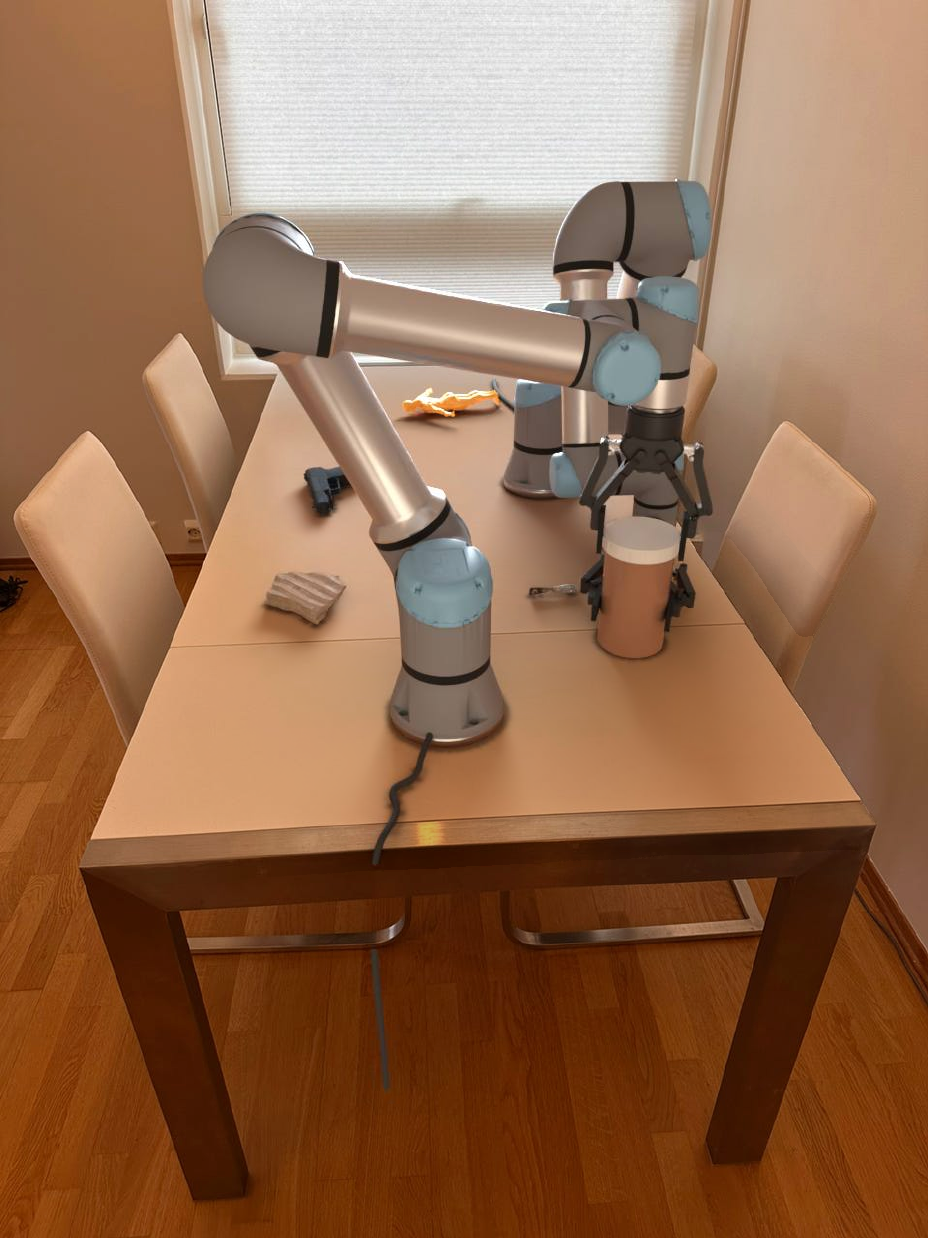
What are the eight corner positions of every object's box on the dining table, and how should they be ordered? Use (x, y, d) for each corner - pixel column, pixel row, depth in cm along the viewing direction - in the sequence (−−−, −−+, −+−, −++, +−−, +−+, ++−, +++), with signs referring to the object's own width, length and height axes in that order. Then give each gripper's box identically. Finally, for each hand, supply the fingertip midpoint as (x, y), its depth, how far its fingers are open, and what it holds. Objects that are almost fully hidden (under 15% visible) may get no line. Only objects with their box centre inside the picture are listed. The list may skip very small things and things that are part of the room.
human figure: (395, 413, 223) (394, 398, 221) (438, 390, 237) (438, 375, 235) (462, 429, 215) (462, 413, 213) (502, 404, 229) (503, 388, 227)
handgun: (374, 509, 176) (313, 517, 173) (359, 474, 190) (302, 481, 188) (373, 494, 174) (311, 502, 172) (358, 460, 188) (301, 466, 186)
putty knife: (576, 592, 148) (577, 584, 147) (529, 598, 146) (530, 589, 145) (574, 589, 149) (575, 581, 148) (528, 595, 147) (528, 586, 146)
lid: (586, 548, 127) (587, 535, 126) (627, 522, 134) (628, 509, 133) (654, 572, 121) (655, 558, 120) (693, 543, 128) (695, 530, 127)
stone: (356, 590, 149) (354, 577, 147) (319, 626, 139) (317, 612, 138) (289, 576, 153) (287, 563, 152) (249, 610, 144) (247, 596, 142)
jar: (584, 642, 136) (593, 537, 126) (619, 615, 142) (629, 514, 132) (641, 666, 130) (654, 558, 121) (674, 637, 136) (689, 533, 127)
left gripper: (746, 400, 117) (722, 548, 129) (570, 389, 122) (561, 534, 133) (750, 419, 111) (724, 573, 123) (564, 407, 115) (555, 558, 127)
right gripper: (713, 578, 147) (706, 651, 128) (578, 561, 152) (552, 629, 134) (720, 537, 143) (713, 607, 124) (580, 521, 148) (555, 585, 130)
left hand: (639, 553), depth 128 cm, fingers closed on lid, 11 cm apart
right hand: (630, 618), depth 129 cm, fingers closed on jar, 10 cm apart
